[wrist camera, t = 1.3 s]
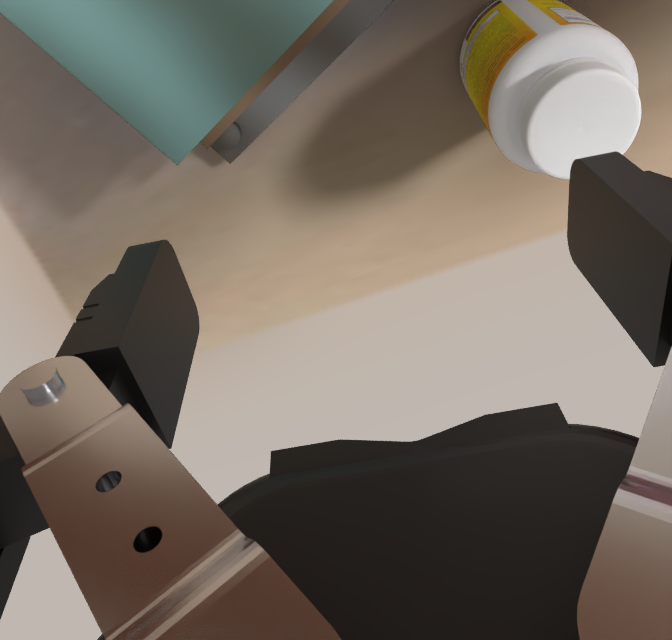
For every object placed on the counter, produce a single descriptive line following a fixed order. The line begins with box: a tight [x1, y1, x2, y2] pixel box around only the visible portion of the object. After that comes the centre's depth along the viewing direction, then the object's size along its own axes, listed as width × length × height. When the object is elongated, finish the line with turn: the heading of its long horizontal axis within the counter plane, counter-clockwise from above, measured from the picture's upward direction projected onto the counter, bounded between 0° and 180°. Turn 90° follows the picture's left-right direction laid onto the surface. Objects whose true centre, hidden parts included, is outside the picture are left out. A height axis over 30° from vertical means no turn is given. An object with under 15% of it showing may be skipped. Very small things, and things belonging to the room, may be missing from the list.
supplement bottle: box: [460, 0, 641, 180], centre depth 25 cm, size 6×6×10 cm
